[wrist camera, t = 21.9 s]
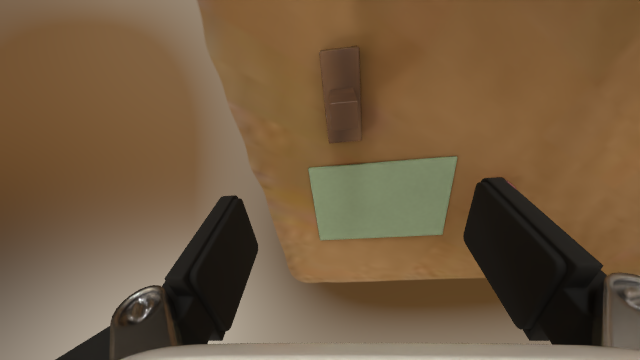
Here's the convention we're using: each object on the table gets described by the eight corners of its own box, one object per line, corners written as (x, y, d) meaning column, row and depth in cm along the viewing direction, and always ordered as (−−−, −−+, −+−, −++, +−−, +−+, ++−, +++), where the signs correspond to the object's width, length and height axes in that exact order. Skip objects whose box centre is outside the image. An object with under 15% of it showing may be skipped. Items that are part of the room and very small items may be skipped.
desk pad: (456, 155, 32) (457, 157, 32) (441, 233, 39) (442, 234, 39) (308, 167, 34) (308, 169, 34) (320, 238, 42) (320, 240, 41)
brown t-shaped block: (329, 135, 32) (327, 166, 25) (320, 50, 27) (314, 57, 19) (360, 133, 31) (367, 163, 24) (357, 45, 26) (365, 51, 19)
